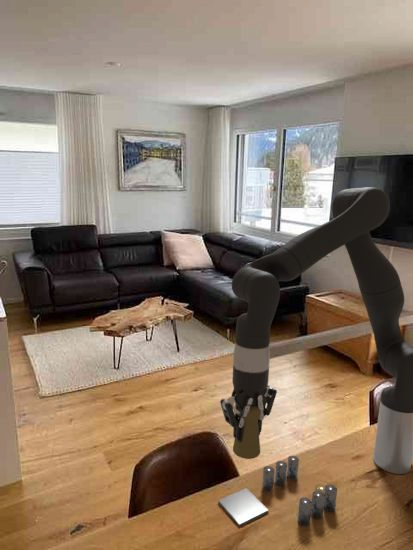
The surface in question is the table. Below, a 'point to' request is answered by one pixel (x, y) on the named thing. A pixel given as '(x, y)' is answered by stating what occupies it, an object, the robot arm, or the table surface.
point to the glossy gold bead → (320, 488)
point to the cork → (249, 435)
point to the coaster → (243, 507)
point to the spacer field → (305, 504)
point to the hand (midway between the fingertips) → (247, 436)
